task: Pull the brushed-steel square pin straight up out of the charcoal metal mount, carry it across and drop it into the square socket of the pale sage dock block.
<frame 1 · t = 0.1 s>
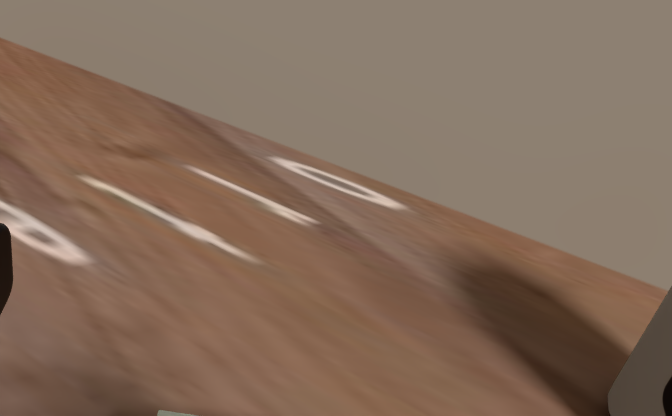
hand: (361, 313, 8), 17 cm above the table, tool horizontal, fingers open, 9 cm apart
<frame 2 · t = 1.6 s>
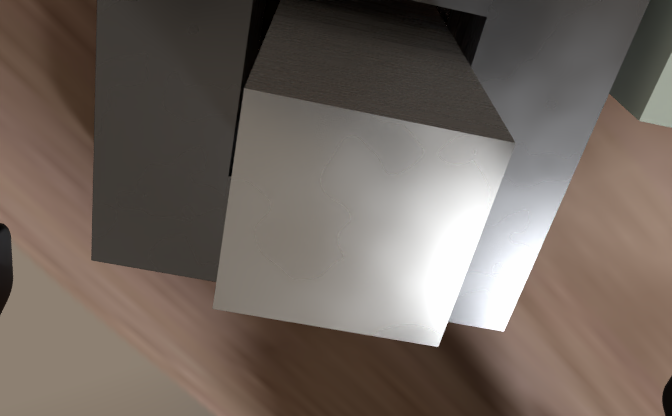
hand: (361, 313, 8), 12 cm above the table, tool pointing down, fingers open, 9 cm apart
mount: (347, 54, 19), on the table
pin: (349, 116, 14), in the mount
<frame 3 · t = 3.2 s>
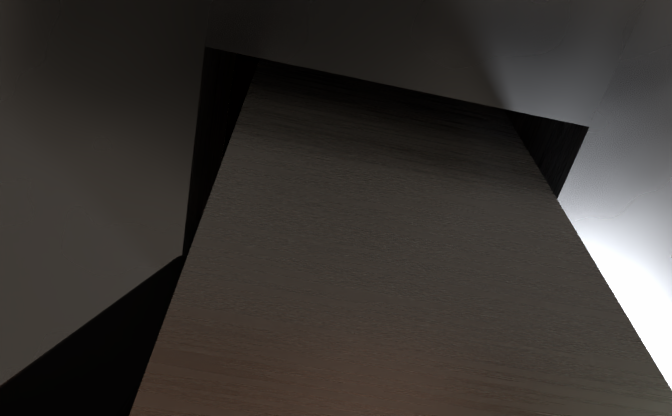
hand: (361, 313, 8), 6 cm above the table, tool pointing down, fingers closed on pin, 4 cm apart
mount: (353, 140, 13), on the table
pin: (360, 288, 9), in the mount, touching gripper
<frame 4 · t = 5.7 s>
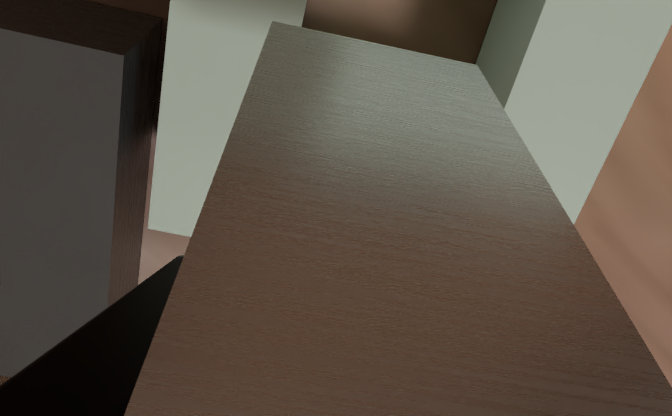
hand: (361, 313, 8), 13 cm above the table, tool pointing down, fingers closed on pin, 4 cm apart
dock: (391, 38, 20), on the table
pin: (359, 286, 9), point 13 cm above the table, touching gripper
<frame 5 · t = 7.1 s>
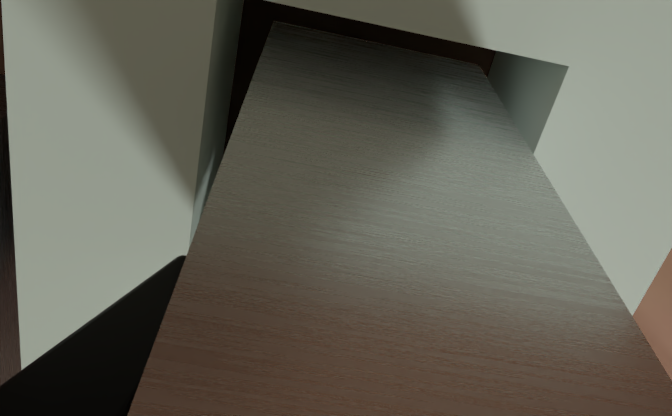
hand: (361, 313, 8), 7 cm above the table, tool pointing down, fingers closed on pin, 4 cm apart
dock: (353, 103, 15), on the table
pin: (361, 286, 9), point 7 cm above the table, touching gripper
when the fingers open (7 cm above the table, at t = 8.2 s): pin drops 1 cm, resting in dock.
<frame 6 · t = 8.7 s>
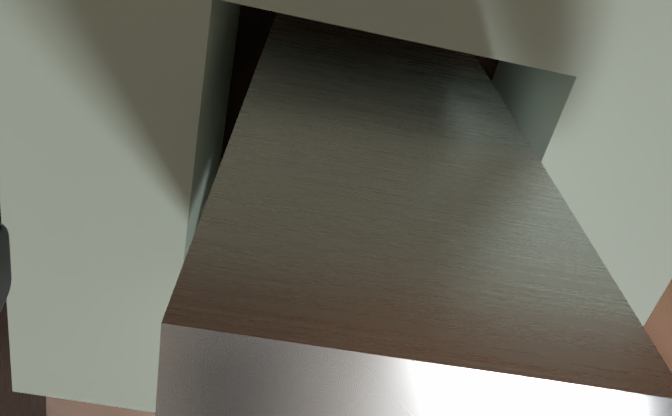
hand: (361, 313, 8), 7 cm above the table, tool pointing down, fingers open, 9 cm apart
dock: (353, 111, 14), on the table
pin: (360, 228, 10), in the dock
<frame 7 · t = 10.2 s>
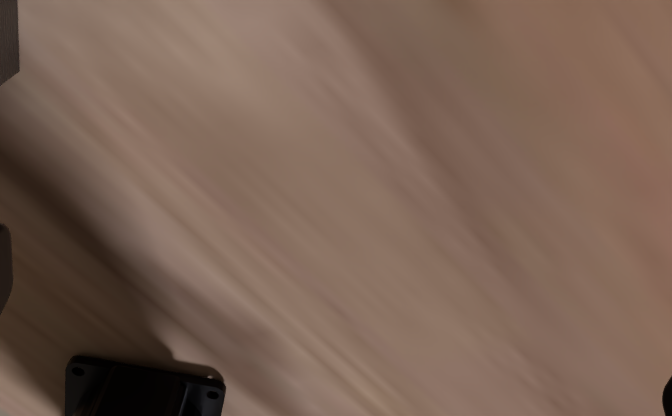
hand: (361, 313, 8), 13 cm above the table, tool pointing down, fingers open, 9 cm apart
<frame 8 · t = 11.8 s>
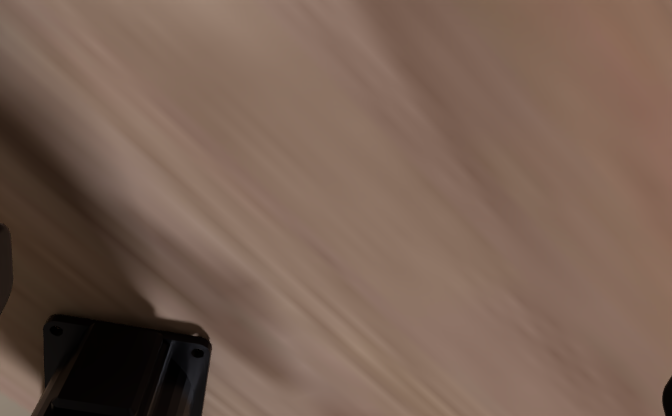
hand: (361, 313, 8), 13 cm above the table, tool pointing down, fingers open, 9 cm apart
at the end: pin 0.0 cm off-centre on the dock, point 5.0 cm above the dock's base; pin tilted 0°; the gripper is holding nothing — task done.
